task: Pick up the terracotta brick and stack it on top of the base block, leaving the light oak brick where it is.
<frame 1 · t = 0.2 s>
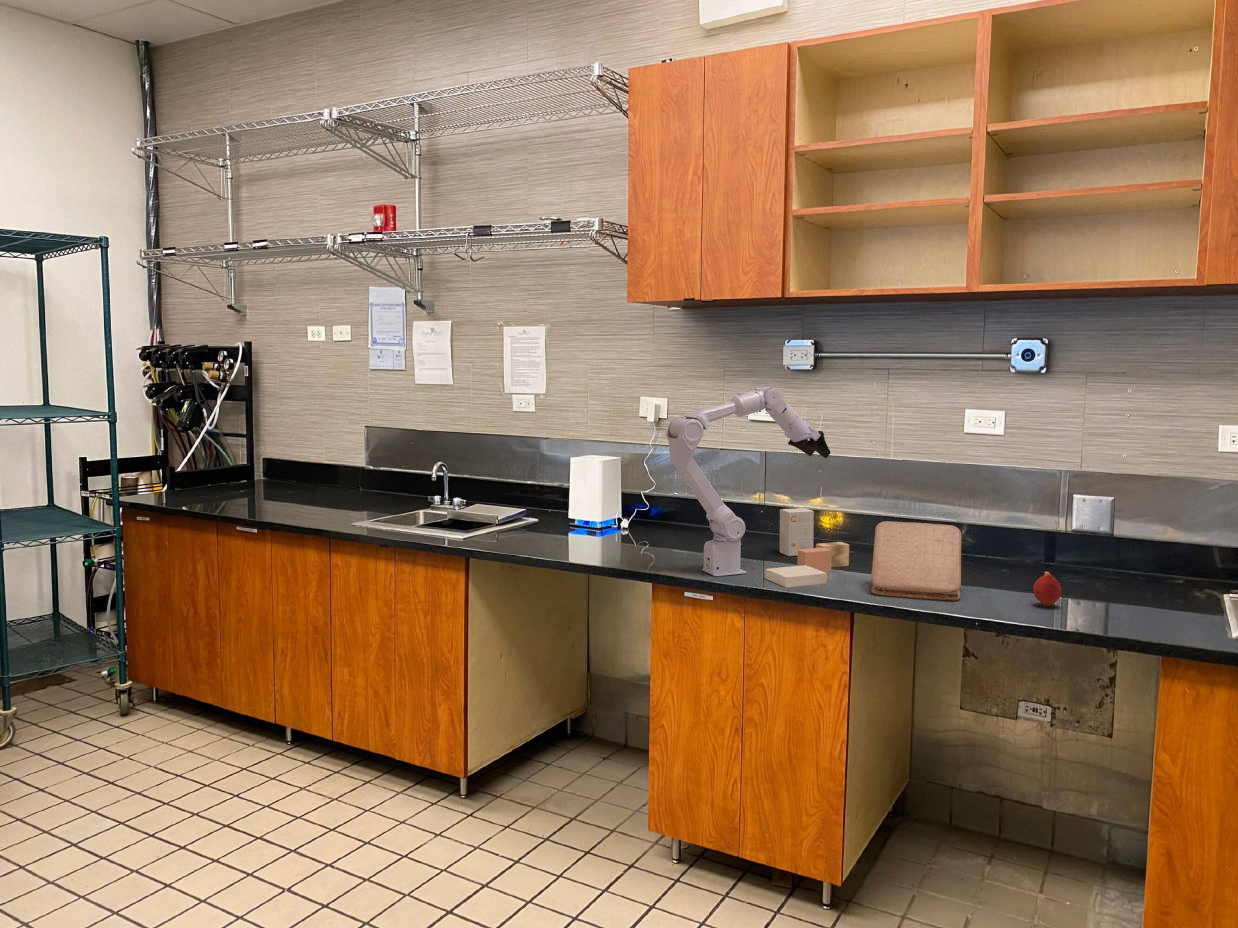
hand: (820, 454, 244), 31 cm above the worktop, tool tilted 45°, fingers open, 7 cm apart
small box: (796, 554, 262), on the worktop
light oak brick: (832, 565, 246), on the worktop
terracotta brick: (814, 572, 239), on the worktop
case: (915, 590, 220), on the worktop
onion: (1046, 606, 203), on the worktop
base block: (795, 582, 229), on the worktop
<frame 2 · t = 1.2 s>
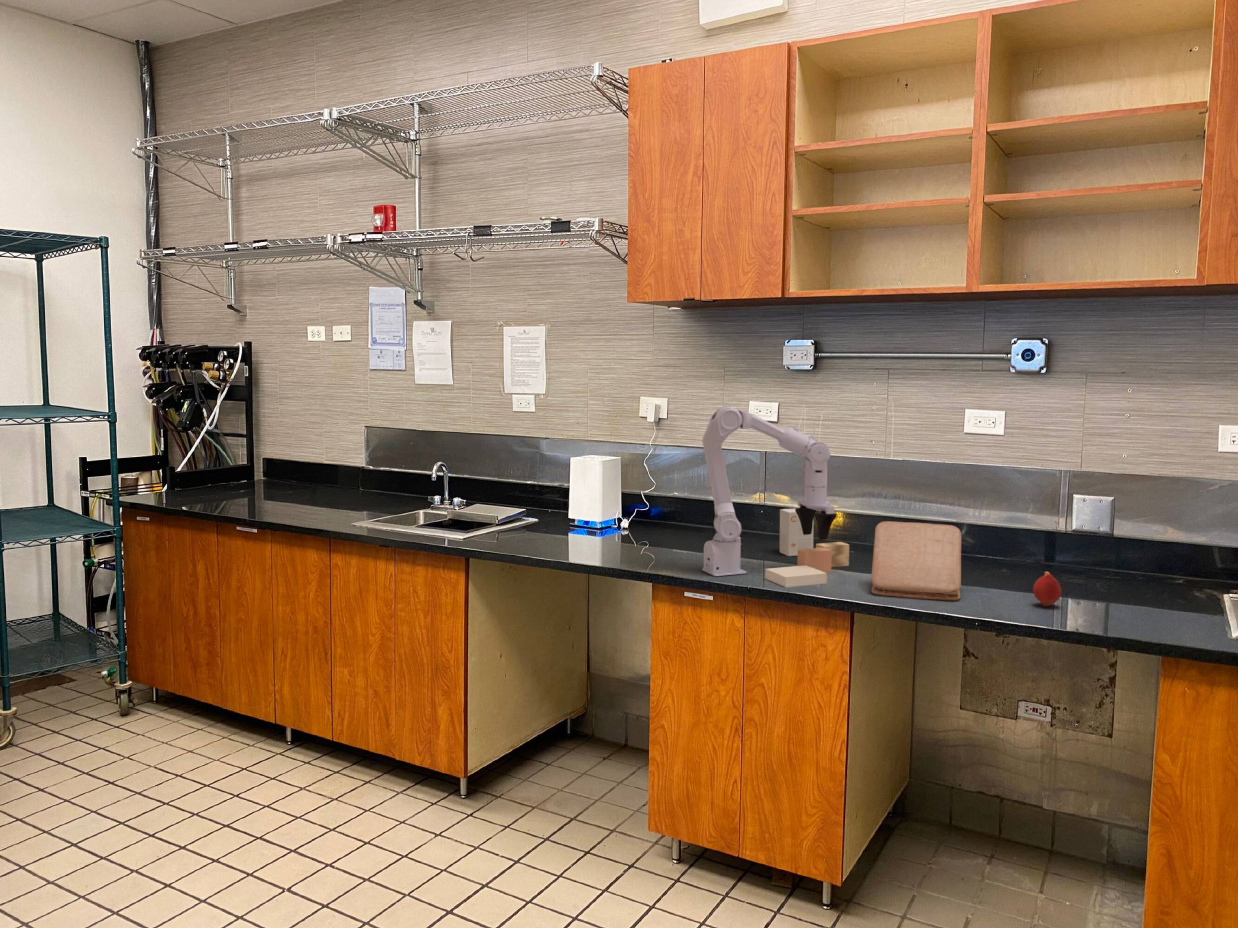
hand: (814, 536, 238), 9 cm above the worktop, tool pointing down, fingers open, 7 cm apart
nothing on the worktop moved.
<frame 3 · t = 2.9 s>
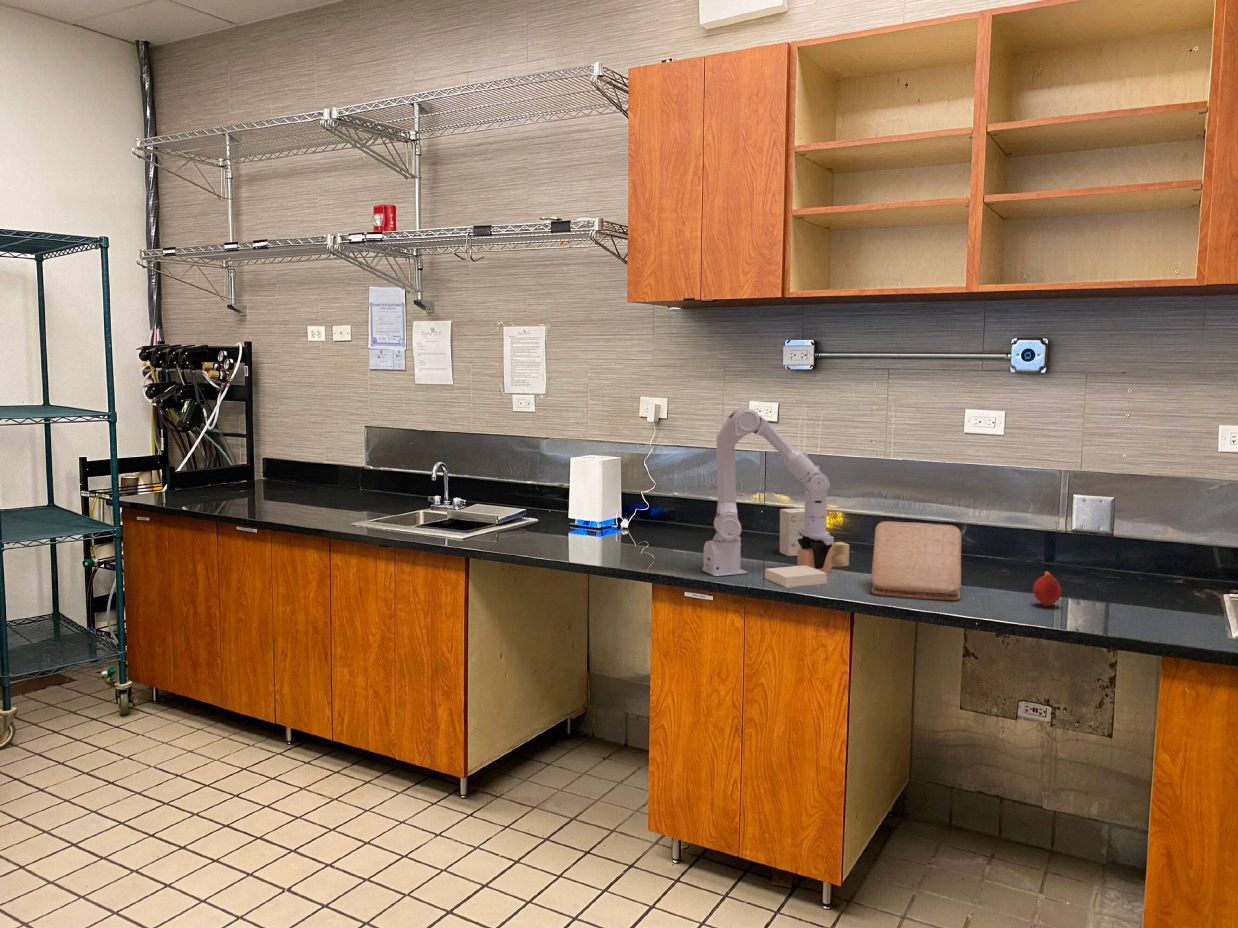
hand: (814, 566, 239), 1 cm above the worktop, tool pointing down, fingers closed on terracotta brick, 4 cm apart
terracotta brick: (814, 571, 239), on the worktop, touching gripper
everything else where it was.
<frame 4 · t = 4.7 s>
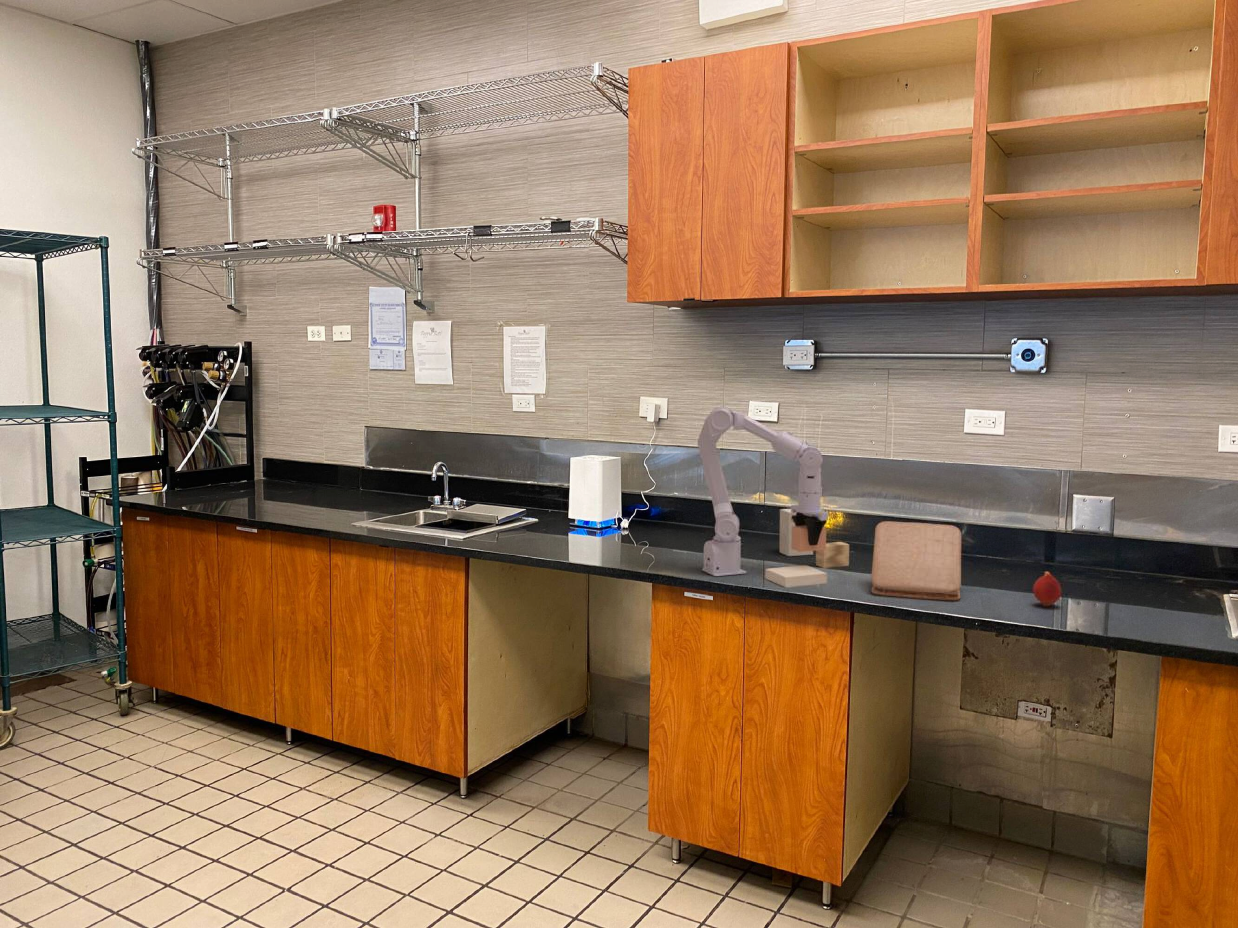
hand: (808, 543, 234), 8 cm above the worktop, tool pointing down, fingers closed on terracotta brick, 4 cm apart
terracotta brick: (808, 549, 235), point 7 cm above the worktop, touching gripper
everything else where it was.
when the fingers open (6 cm above the worktop, at t = 6.5 s): terracotta brick drops 2 cm, resting on base block.
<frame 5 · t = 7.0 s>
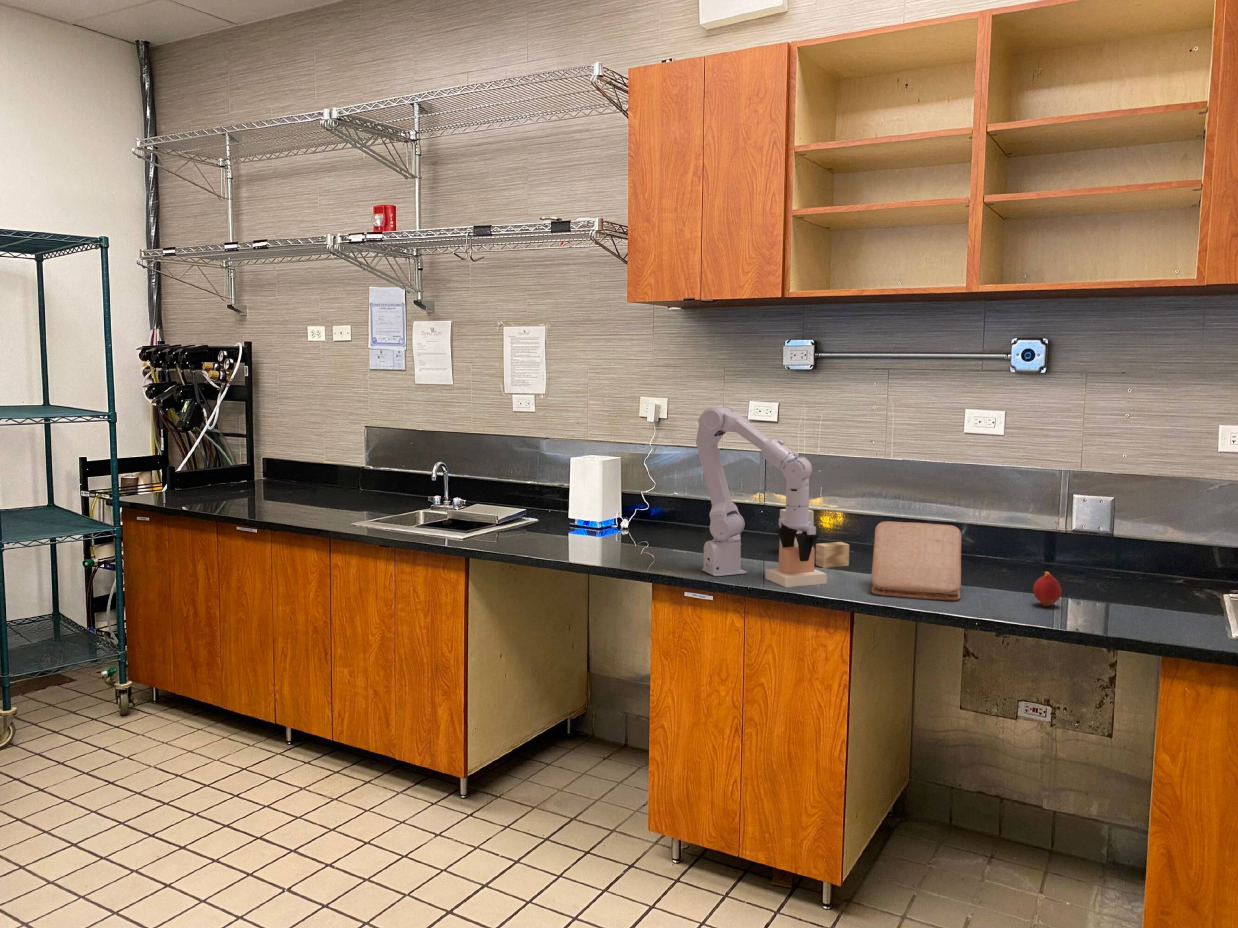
hand: (796, 557, 228), 6 cm above the worktop, tool pointing down, fingers open, 7 cm apart
terracotta brick: (796, 571, 229), point 2 cm above the worktop, touching base block
base block: (795, 582, 229), on the worktop, touching terracotta brick
everything else where it was.
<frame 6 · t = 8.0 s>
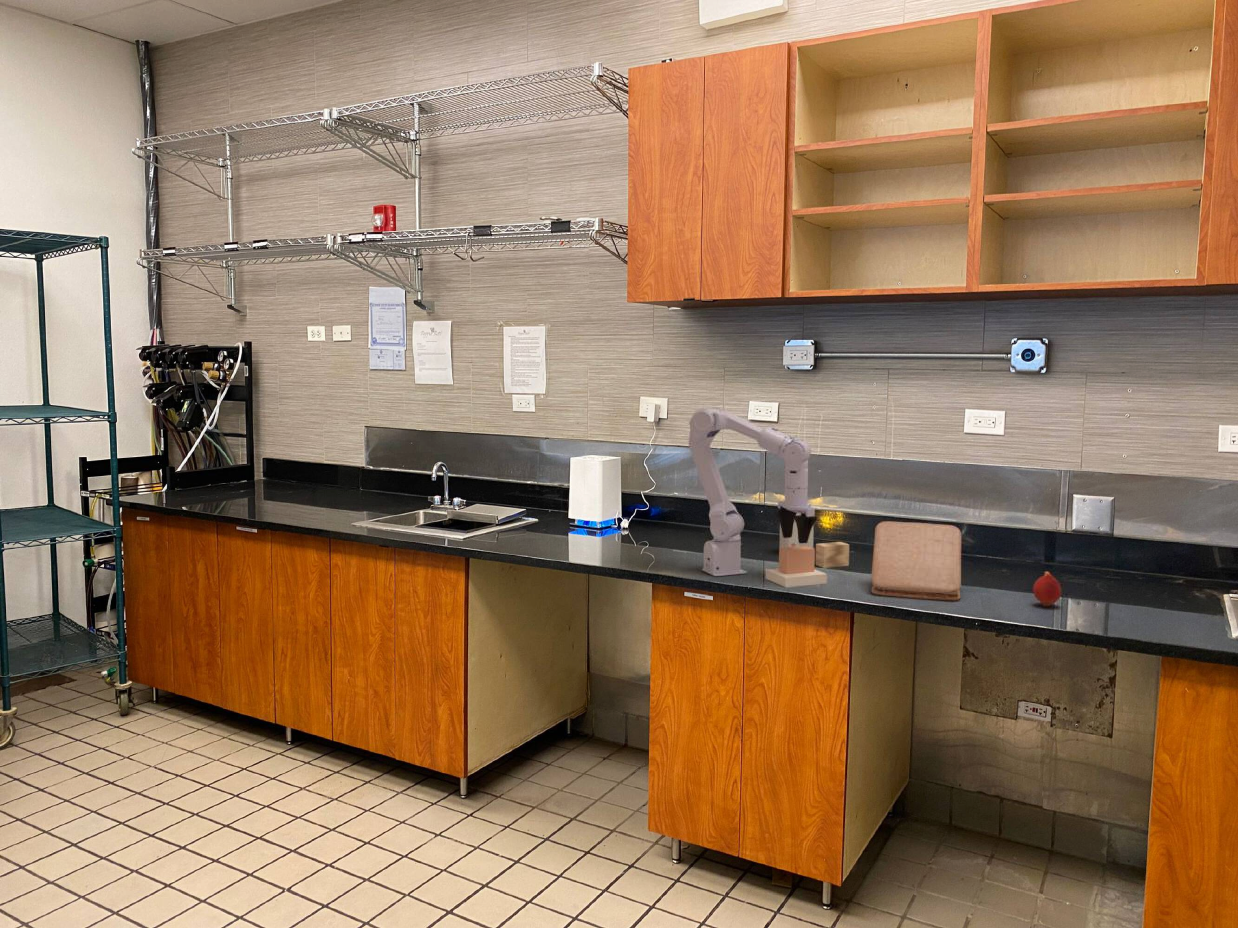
hand: (795, 540, 229), 10 cm above the worktop, tool pointing down, fingers open, 7 cm apart
nothing on the worktop moved.
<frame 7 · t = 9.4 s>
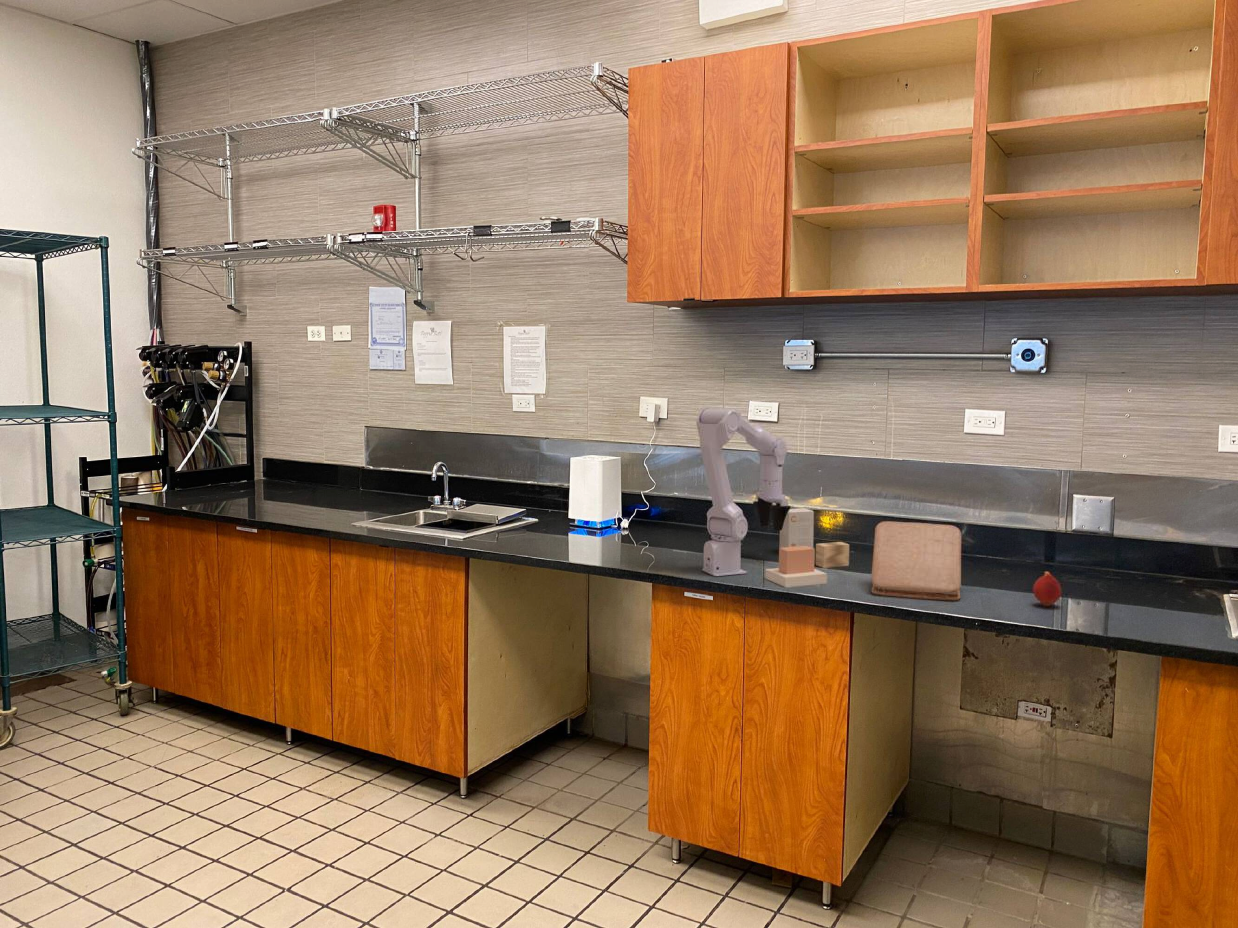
hand: (771, 528, 251), 9 cm above the worktop, tool pointing down, fingers open, 7 cm apart
nothing on the worktop moved.
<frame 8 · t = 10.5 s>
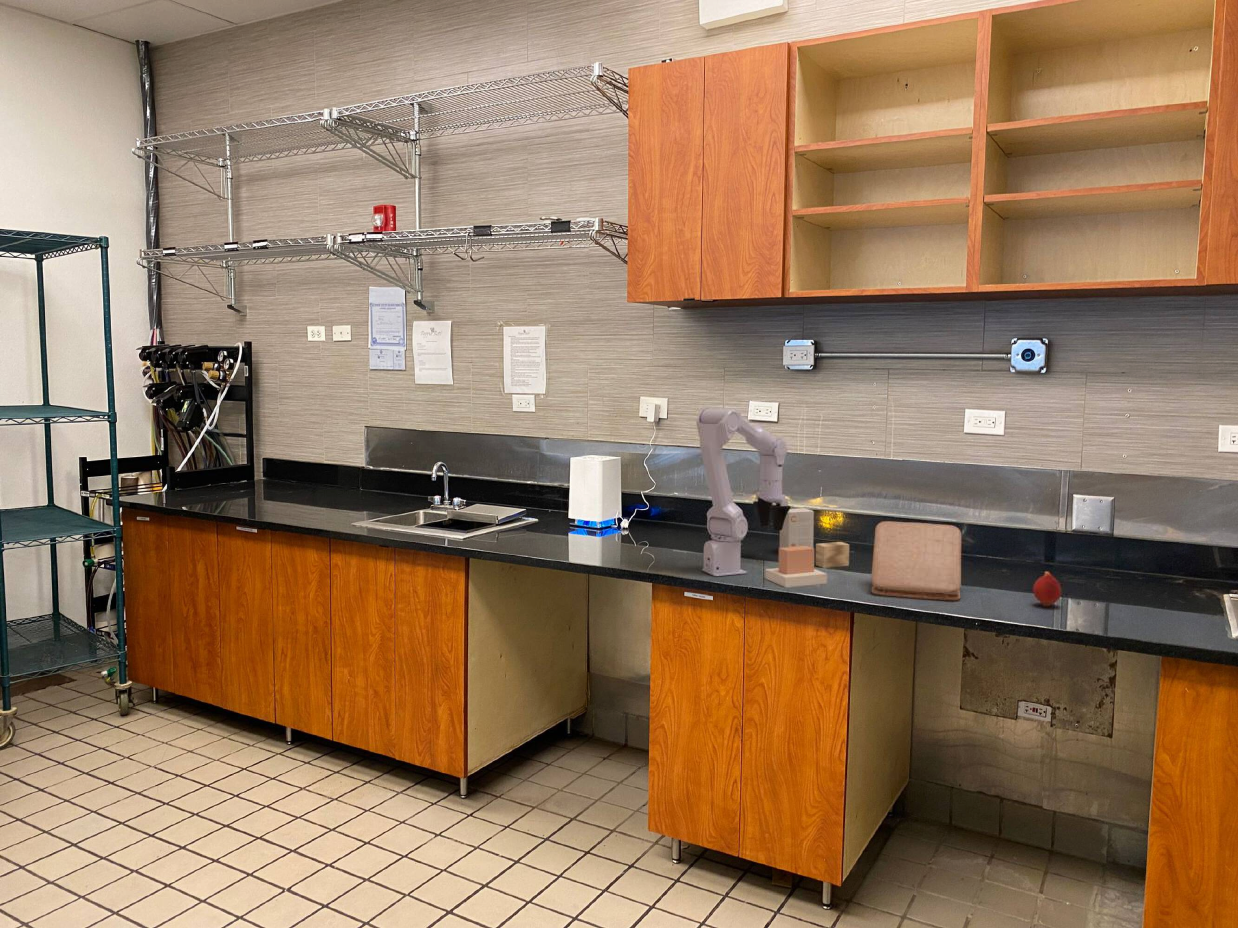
hand: (771, 528, 251), 9 cm above the worktop, tool pointing down, fingers open, 7 cm apart
terracotta brick: (796, 571, 228), point 2 cm above the worktop
base block: (795, 582, 229), on the worktop
everything else where it was.
at the end: terracotta brick 0.2 cm off-centre on the base block, point 3.0 cm above the base block's base; the gripper is holding nothing; light oak brick moved 0.1 cm from its start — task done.
